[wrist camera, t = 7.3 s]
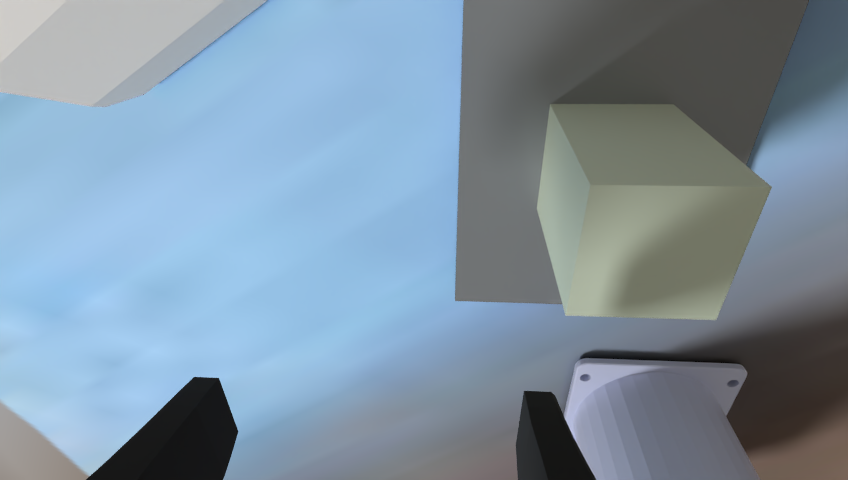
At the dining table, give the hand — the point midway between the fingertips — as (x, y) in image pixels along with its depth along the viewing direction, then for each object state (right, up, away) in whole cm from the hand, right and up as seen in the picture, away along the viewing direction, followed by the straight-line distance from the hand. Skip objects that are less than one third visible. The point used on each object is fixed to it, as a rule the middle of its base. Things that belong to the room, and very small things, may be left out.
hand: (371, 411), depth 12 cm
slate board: (+8, +8, +6) cm, 12 cm away
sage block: (+7, +7, +6) cm, 12 cm away
